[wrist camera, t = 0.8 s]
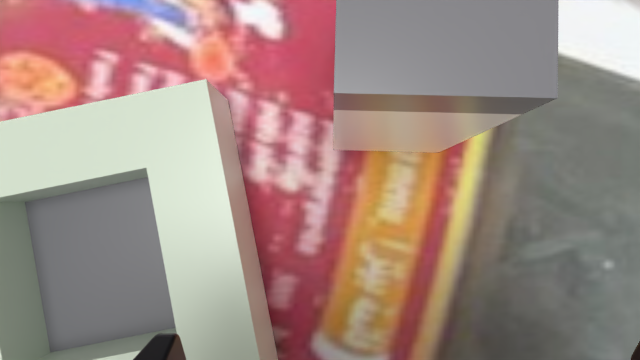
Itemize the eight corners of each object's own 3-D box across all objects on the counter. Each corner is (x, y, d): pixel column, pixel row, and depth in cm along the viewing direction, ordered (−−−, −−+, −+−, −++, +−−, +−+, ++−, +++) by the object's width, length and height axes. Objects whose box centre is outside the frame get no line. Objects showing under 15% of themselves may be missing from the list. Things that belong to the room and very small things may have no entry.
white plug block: (438, 152, 23) (557, 98, 11) (333, 149, 23) (333, 93, 11) (439, 49, 23) (558, -119, 11) (335, 47, 23) (339, -122, 11)
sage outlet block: (280, 368, 22) (268, 405, 18) (12, 420, 23) (-57, 468, 19) (228, 100, 23) (205, 79, 19) (-32, 153, 23) (-108, 143, 19)
